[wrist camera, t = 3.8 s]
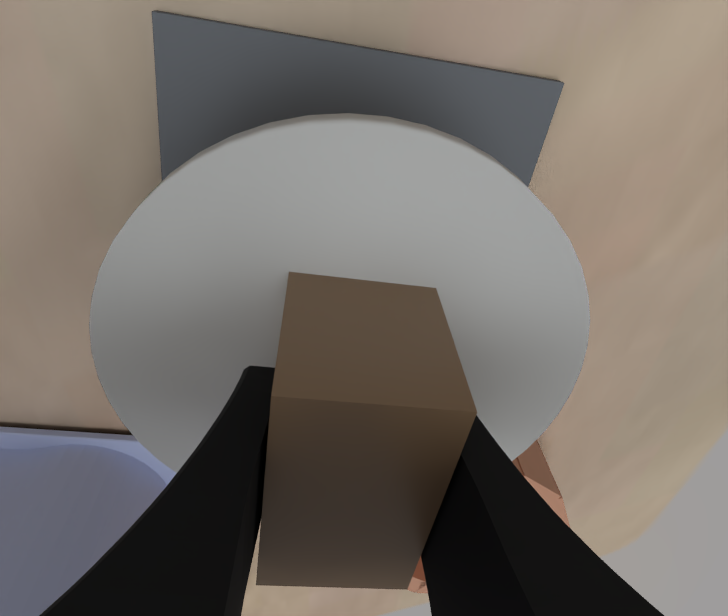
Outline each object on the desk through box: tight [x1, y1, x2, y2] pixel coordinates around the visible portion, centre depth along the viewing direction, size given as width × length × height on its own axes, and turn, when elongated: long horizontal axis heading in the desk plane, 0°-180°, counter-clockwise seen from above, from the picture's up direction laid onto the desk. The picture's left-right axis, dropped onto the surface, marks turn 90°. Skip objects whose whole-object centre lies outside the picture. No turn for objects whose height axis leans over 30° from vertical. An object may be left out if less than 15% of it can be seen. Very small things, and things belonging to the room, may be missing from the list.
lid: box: [89, 113, 590, 589], centre depth 10 cm, size 11×11×4 cm
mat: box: [152, 11, 564, 187], centre depth 18 cm, size 12×12×1 cm
